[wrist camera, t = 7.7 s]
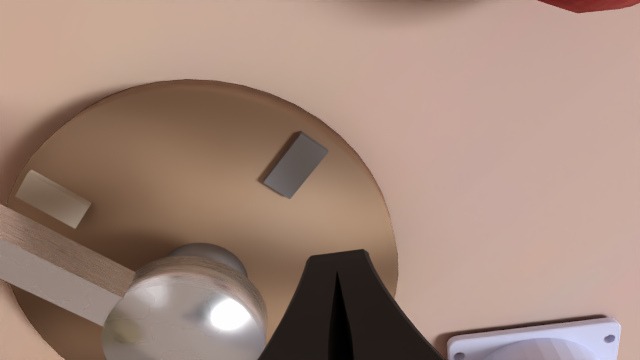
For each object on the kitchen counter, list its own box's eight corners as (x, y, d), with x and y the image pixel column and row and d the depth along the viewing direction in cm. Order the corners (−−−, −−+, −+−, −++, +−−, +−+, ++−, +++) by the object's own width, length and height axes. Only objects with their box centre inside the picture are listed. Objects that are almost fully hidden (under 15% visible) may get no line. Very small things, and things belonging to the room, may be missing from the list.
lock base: (406, 368, 27) (418, 429, 23) (95, 404, 27) (67, 468, 24) (374, 49, 19) (385, 76, 16) (-48, 112, 20) (-114, 150, 17)
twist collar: (297, 302, 20) (295, 342, 18) (220, 391, 22) (211, 434, 20) (-107, 85, 16) (-160, 108, 14) (-155, 218, 18) (-206, 253, 16)
